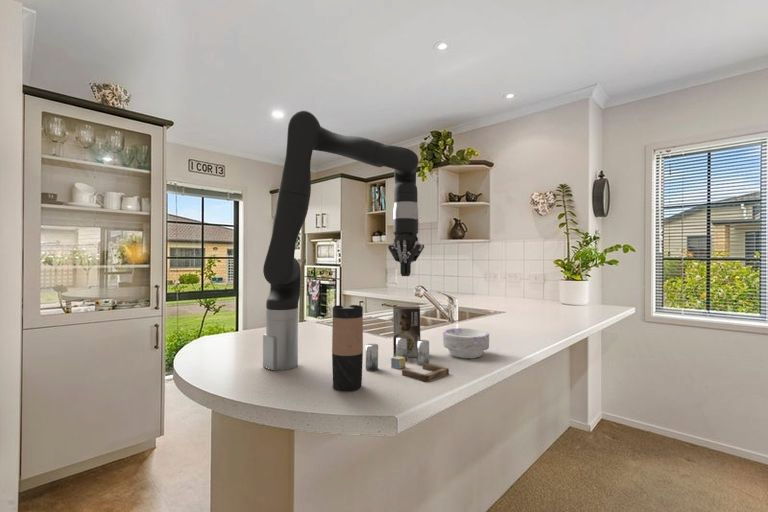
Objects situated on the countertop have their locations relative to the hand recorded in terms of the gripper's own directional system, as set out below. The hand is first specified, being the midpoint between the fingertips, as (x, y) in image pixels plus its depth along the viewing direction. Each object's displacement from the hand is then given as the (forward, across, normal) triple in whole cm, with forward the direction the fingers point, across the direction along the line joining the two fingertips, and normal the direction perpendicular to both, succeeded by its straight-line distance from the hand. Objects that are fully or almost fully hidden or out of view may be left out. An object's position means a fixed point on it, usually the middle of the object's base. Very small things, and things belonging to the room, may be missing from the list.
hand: (405, 276), depth 112 cm
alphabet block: (+27, -1, -2) cm, 27 cm away
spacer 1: (+27, -5, -9) cm, 29 cm away
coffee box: (+27, -9, +11) cm, 31 cm away
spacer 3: (+27, +2, +6) cm, 28 cm away
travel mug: (+27, +2, -24) cm, 36 cm away
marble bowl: (+27, +5, +25) cm, 37 cm away
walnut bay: (+27, +9, -2) cm, 29 cm away
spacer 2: (+27, -6, +5) cm, 28 cm away
